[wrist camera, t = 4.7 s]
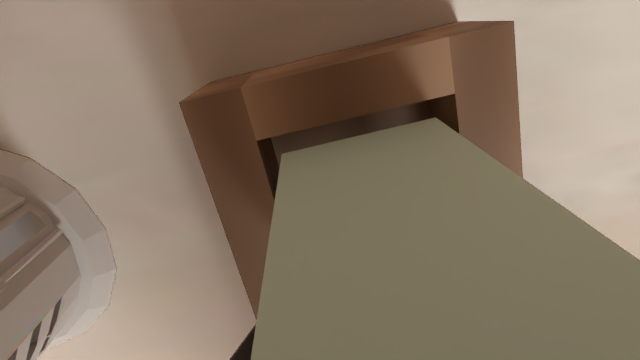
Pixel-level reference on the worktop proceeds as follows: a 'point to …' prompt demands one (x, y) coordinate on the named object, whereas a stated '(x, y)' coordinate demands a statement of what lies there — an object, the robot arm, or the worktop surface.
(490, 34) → the pocket holder
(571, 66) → the worktop surface
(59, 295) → the french press
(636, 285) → the green block
